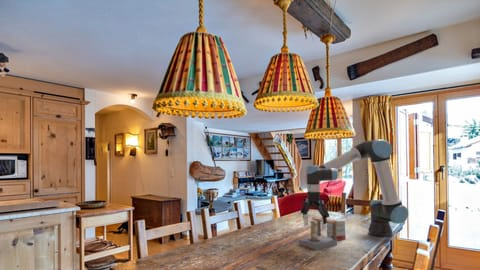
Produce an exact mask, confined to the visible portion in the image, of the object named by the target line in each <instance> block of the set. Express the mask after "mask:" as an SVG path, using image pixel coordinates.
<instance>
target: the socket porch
mask: <svg viewBox="0 0 480 270" xmlns="http://www.w3.org/2000/svg"><path fill="white" fill-rule="evenodd" d="M321 218H322V217H319V216H318V217H312V221H317V229H318V241H317V242H313V241H311V236H308V237H304V238H299V239H298V245H299V246H302V247H305V248H309V249H312V250H316V251H319V250H323V249H326V248H331V247H336V246H338V240H337V233H336V223H337V221H336V220H331V219H332V218H326V219H327V223H329V224H332V230H333V239H332V238H328V237H327V236H325V235H322V234H321V233H322V232H321V231H322V219H321ZM327 223H326V224H327Z"/></svg>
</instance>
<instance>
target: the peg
mask: <svg viewBox="0 0 480 270" xmlns="http://www.w3.org/2000/svg"><path fill="white" fill-rule="evenodd" d="M309 222H310V237H311V241H313V242H317V241H318V229H317V221H315V220H310V221H309Z"/></svg>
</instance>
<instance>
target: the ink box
mask: <svg viewBox="0 0 480 270" xmlns="http://www.w3.org/2000/svg"><path fill="white" fill-rule="evenodd" d="M330 219H331V220H336V221H337V223H336V233H337V241H341V240H346V221H345V220H343V219H339V218H330ZM326 237H328V238H332V239H333V230H332V224H329V223H326Z"/></svg>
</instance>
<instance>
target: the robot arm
mask: <svg viewBox="0 0 480 270" xmlns="http://www.w3.org/2000/svg"><path fill="white" fill-rule="evenodd" d="M392 153H393V147H392V145H391V144H390V142H389V141H388V140H385V139H380V138H379V139H372V140H366V141H363V142H360V143H358V144H357V145H354V146H353V147H351V148H350V150H348V151H346V152H344V153H342V154H340V155H338V156H337V157H334V158H333V159H330V160H329V161H327V162H324V163H322V164H321V165H307V166H306V168H305V169H306V171H305V174H306V190H307V193H306V197H307V198H303V203H302V205H301V210H300V213H301V214H302V215H303V216H302V217H303V221H304V222H303V226H306V227H307V226H309V214H308V213H309V211H310V209H311V208H315V209H317V211H318V212H319V214H320V215H321V217H320V218H321V219H322V222H321V231H323V230H327V219H328V218H330V213H329V211H328V208H327V207H326V204H325V200H321V199H320V198H321V192H320V190H321V189H320V186H321V185H320V183H321V182H325V181H327V182H329V181H330V182H332V181H336V180H338V178H339V172H338V170H340V169H342V168H344V167H345V166H348V165H350V164H351V163H352V164H353V162H356V161H357V162H359V161H361V160H364V159H369V160H370V163H372V164H373V166H374V168H375V173H376V177H377V180H378V184H379V188H380V191H381V197H382V199H375V200H374V199H373V200H371V201H370V204H369V209H370V210H369V211H370V224H369V227H368V230H367V231H368V234H369V235H370V236H374V237H381V238H383V237H384V238H390V237H393V236H394V231H393V229H392V227H391V224H390V223H393V224H398V225H400V224H403V223H405V222H406V221H407V219H408V217H409V209H408V208H407V207H406V206H405V205H403V202H402V200H401V199H400V198H399V197H398V194H397V190H396V189H397V188H396V186H395V182H394V178H393V174H392V169H391V166H390V163H389V162H390V160H391V155H392Z"/></svg>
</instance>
